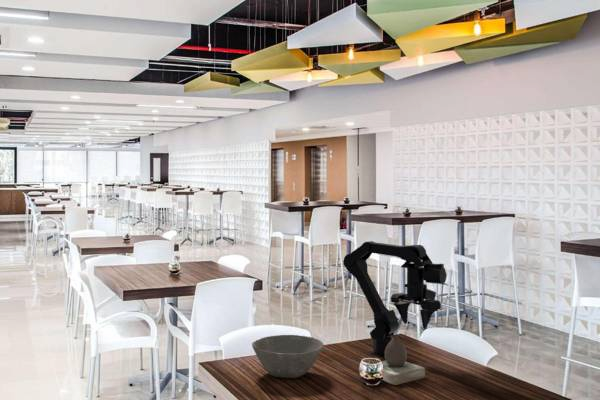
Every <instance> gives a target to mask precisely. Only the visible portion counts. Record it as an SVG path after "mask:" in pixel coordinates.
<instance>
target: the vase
mask: <svg viewBox="0 0 600 400" xmlns="http://www.w3.org/2000/svg"><path fill="white" fill-rule="evenodd" d="M391 338H392V339H391V341H390V342H389V343H388V345H387V346H386V349H385V357H384V359H385V360H386V362H387V363H388V365H389V366H391V367H401V366H403V365H404V363H405V361H406V362H407V356H408V354H407V349H406V346H405V345H404V344H403V342H402V341H401V339H400V337H399V336H392V337H391Z"/></svg>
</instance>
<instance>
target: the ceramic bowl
mask: <svg viewBox="0 0 600 400" xmlns="http://www.w3.org/2000/svg"><path fill="white" fill-rule="evenodd" d="M251 346H252V348H253V351H254V353H255V355H256V357H257V360H258V361H259V362H260V364H261V365H262V367H263V368H264V370H265V371H266V372H267V374H268V375H270V376H272V377H275V378H282V379H285V378H286V379H297V378H300V377H302V376H303V375H306V374H307V372H309V371H310V369H311V368H312V367H313V365H314V364H315V363H316V361H317V360H318V359H319V356H320V354H321V352H322V351H323V349H324V343H323V342H322V341H321V340H319V339H317V338H315V337H311V336H306V335H298V334H279V335H270V336H265V337H261V338H259V339H257V340H255V341H253V342H252V343H251Z"/></svg>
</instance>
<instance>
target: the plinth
mask: <svg viewBox="0 0 600 400" xmlns="http://www.w3.org/2000/svg"><path fill="white" fill-rule="evenodd" d="M380 361H381V362H382V364H383V379H382V380H381V381H384V382H386V383H388V384H390V385H394V386H397V385H401V384H406V383H409V382H413V381H416V380H421V379H425V378H426V367H423V366H421V365H418V364H414V363H411V362H409V361H407V360H406V361H405V363H404V365H403V366H401V367H391V366H389V365H388V363H387V362H386V359H385V360H380Z"/></svg>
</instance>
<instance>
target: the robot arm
mask: <svg viewBox="0 0 600 400" xmlns="http://www.w3.org/2000/svg"><path fill="white" fill-rule="evenodd" d="M372 254H377V255H384V256H391V257H396V258H399V259H401V260H402V261H405V262H404V263H402V265H401V266H400V267H401V268H402V269H404V268H405V269H406V283H404V284H403V285H404V287H403V288H406V293H403V292H398V293H392V295H391V296H390V302H391V303H392V305H393V306H395V308H396V310H397V312H398V313H399V316H400V318H401V320H402V322H403V324H404V325H406V324H407V323H408V316H409V313H408V312H409V307H410V305H416V306H420V308H421V309H420V310H419V311H420V312H419V313H420V317H421V325H422V328H423V330H427V328H428V325H429V323H430V320H431V318H432V316H433V314H434V313H435V312H438V311H439V310H441V309H442V303H441V302H440V300H439V299H436V295H437V292H436V291H433V290H432V289H429V288H427V284H425V283H430V284H437V285H444V284H445V283H446V281H447V271H446V268H445V264H444V263H434V262H432V260H431V258H430V257H429V255H428V254H427V250H426V248H425V246H423V245H421V244H409V245H398V244H390V243H383V242H376V241H372V240H371V241H364V242H363V243H362V244H360V246H359V247H357V248H355V249H354V250H353V251H351V252H350V253H348V254H346V255H345V256H344V258H343V260H342V261H343V262H342V263H343V265H344V268H345V269H346V270H347V272H348V273H349V274H351V276H353V278H355V279H356V281H357V284H358V285H359V287H360V289H361V291H362V293H363V296H364V297H365V299H366V302H367V304H369V307H370V310H371V311H372V313H373V322H374V326H375V327H374V328H373V329H372V330H371V331H370V332H369V334H370V338H371V339H373V350H372V351H370V354H372V355H374V356H377V357H381V358H385V349H386V346H387V345H388V343H389V342H390V341H391V339H392V338H393V337H395V336H394V335H395V333H396V331H398V329H399V325H400V324H399V320H400V319H399V318H398V317H397V315H396V313H395V312H396V311H395V310H394V309H390V310H389V309H388V307H386V305H385V303H384V301H383V300H382V297H381V296H380V293H379V292H378V290H377V288H376V286H375V285H374V283H373V280H372V279H371V276H370V274H369V273H368V272H369V271H368V263H367V261H368V259H369V258H370V257H371V256H372Z"/></svg>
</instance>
